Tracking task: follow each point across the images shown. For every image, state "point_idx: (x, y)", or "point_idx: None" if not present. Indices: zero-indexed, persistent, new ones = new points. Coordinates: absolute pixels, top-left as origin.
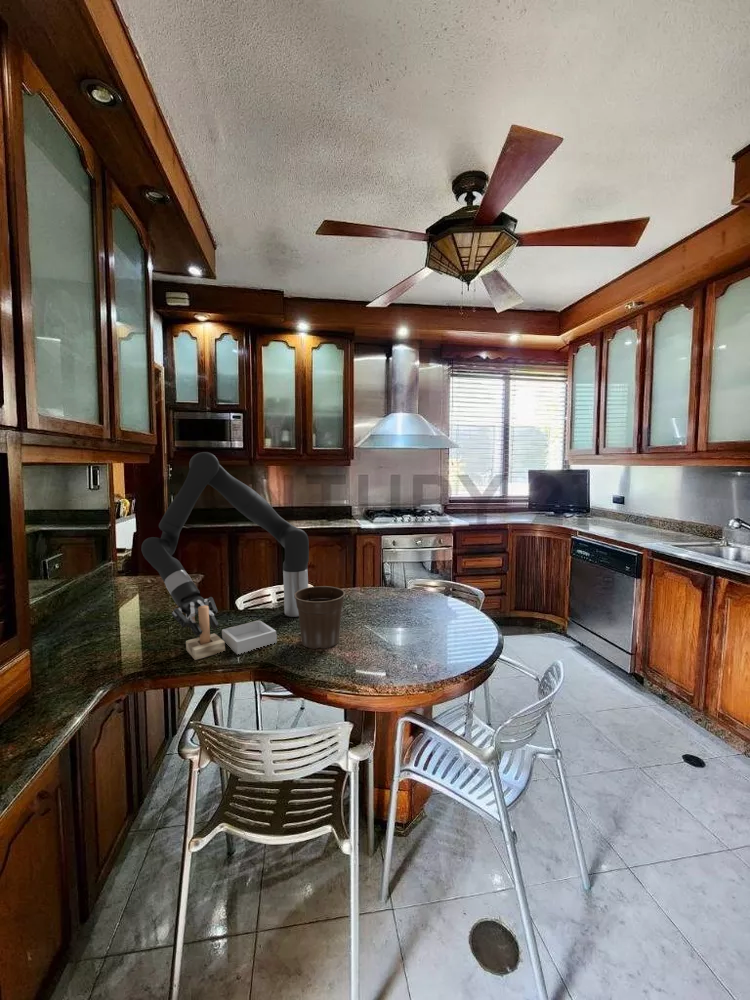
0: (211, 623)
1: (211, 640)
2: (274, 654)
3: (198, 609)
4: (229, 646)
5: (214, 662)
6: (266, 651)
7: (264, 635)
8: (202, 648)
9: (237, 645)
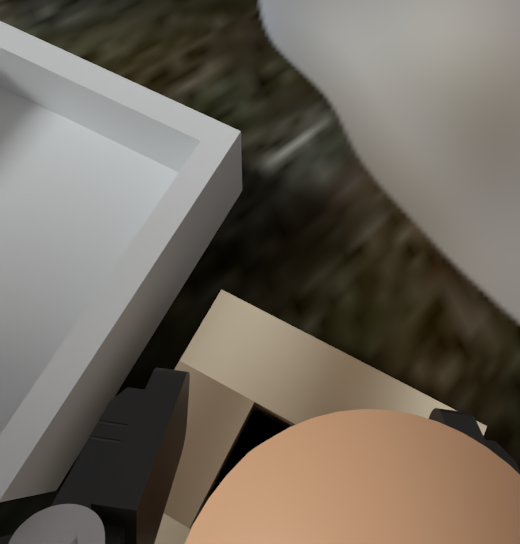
0: (161, 496)
1: (224, 459)
2: (155, 5)
3: None
4: (154, 326)
5: (401, 259)
6: (132, 62)
7: (33, 40)
8: (413, 390)
9: (239, 148)
